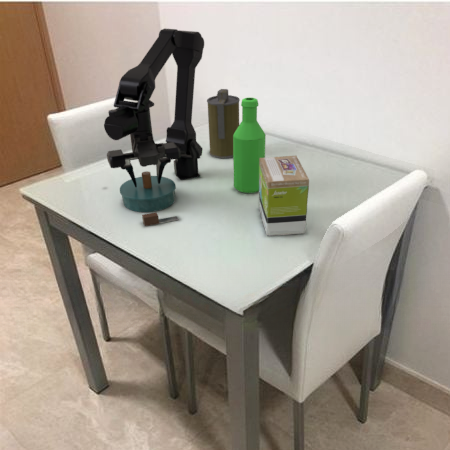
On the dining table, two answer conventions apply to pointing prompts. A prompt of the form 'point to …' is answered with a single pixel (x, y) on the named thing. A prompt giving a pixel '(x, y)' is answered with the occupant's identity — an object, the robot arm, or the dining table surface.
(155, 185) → the lid
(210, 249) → the dining table surface
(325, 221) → the dining table surface
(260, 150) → the bottle
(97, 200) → the dining table surface
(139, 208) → the pot
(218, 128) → the canister
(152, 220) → the knife
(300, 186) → the tea box
